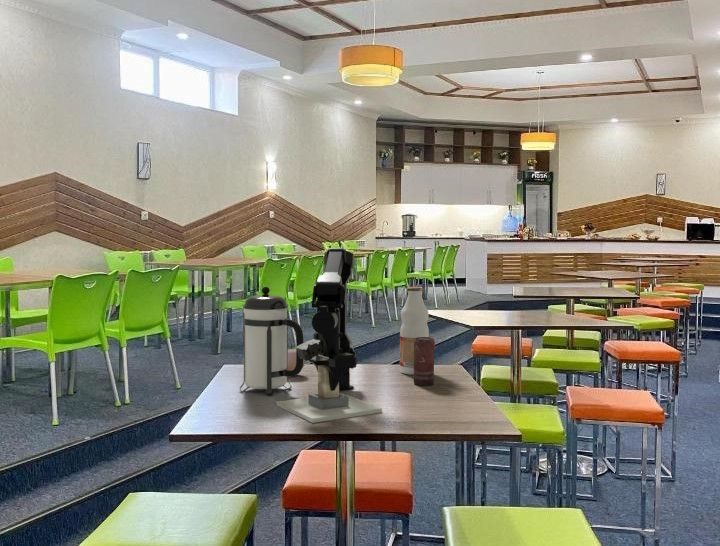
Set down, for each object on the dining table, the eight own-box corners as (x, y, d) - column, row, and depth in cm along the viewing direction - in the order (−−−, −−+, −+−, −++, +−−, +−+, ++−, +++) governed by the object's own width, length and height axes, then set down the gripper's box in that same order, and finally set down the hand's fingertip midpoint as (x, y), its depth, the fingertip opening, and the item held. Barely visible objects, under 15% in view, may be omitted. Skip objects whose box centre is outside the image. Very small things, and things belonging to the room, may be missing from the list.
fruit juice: (410, 376, 226) (411, 288, 224) (394, 371, 234) (394, 286, 232) (434, 373, 231) (435, 287, 229) (417, 368, 239) (418, 285, 237)
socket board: (276, 405, 186) (276, 401, 186) (342, 396, 197) (342, 393, 197) (312, 422, 169) (312, 418, 169) (381, 412, 180) (382, 408, 180)
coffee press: (240, 398, 194) (240, 289, 193) (238, 385, 210) (238, 284, 208) (303, 395, 198) (303, 288, 196) (296, 383, 213) (297, 284, 212)
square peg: (317, 399, 184) (318, 365, 183) (331, 398, 186) (331, 364, 185) (325, 403, 180) (325, 368, 180) (339, 401, 182) (339, 366, 182)
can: (433, 386, 211) (434, 339, 210) (412, 385, 212) (412, 339, 211) (435, 382, 217) (436, 336, 216) (414, 381, 218) (415, 336, 217)
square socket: (308, 403, 184) (308, 394, 184) (333, 400, 188) (333, 390, 188) (322, 409, 178) (322, 400, 178) (348, 406, 182) (348, 396, 182)
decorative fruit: (284, 379, 219) (284, 347, 219) (273, 375, 226) (273, 344, 226) (311, 376, 224) (311, 345, 224) (299, 372, 231) (299, 341, 231)
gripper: (284, 326, 186) (284, 385, 187) (318, 335, 170) (318, 400, 171) (321, 324, 192) (321, 381, 192) (358, 332, 176) (357, 394, 177)
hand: (328, 389), depth 183 cm, fingers closed on square peg, 4 cm apart
